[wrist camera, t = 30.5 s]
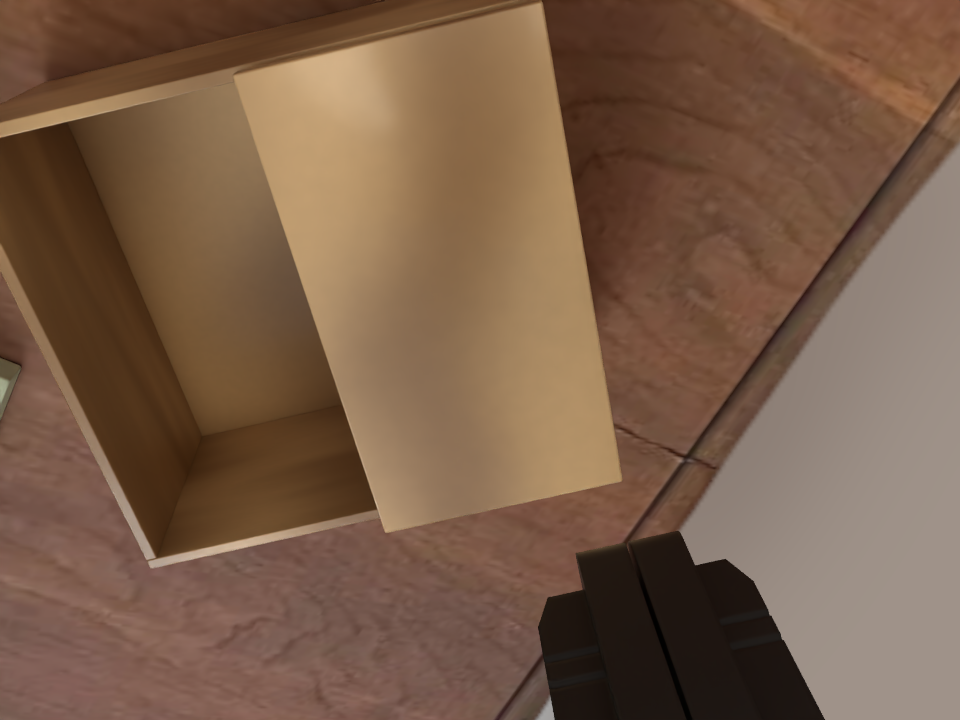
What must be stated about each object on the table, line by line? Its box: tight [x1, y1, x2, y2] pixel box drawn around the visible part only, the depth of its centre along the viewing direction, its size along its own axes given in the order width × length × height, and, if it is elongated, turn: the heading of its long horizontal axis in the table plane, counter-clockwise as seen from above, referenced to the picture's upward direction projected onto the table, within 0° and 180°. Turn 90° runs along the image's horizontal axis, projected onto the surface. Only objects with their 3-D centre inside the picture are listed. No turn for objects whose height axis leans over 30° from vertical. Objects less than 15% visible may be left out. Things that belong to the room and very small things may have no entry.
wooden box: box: [0, 0, 541, 568], centre depth 23 cm, size 13×12×6 cm
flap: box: [233, 0, 623, 533], centre depth 20 cm, size 6×12×1 cm, turn 12°
